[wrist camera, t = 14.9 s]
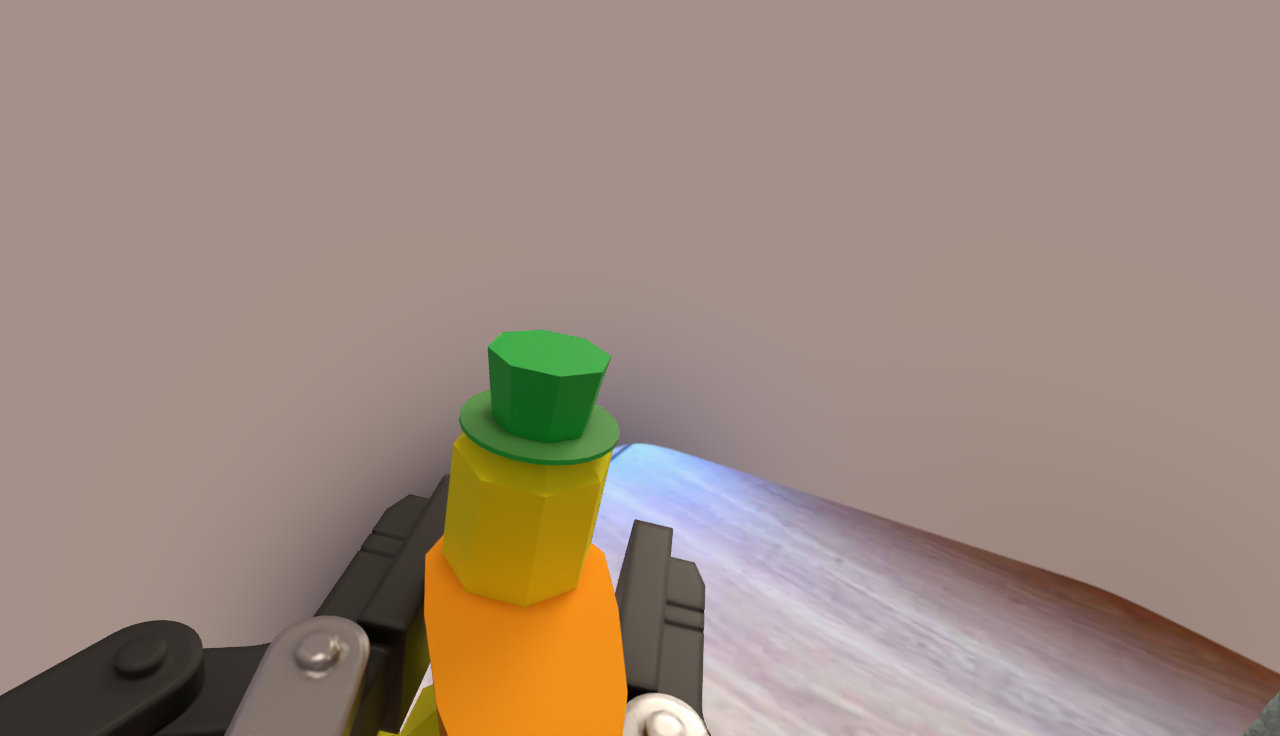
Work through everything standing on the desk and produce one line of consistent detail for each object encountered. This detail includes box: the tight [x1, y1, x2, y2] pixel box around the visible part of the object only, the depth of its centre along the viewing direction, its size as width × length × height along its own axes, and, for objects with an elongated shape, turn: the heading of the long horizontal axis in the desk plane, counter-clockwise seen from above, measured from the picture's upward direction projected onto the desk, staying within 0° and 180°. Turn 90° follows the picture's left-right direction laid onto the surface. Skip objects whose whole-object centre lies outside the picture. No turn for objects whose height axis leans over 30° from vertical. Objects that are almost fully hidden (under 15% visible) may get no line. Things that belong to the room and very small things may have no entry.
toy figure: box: [377, 330, 628, 736], centre depth 11 cm, size 7×4×12 cm, turn 14°
